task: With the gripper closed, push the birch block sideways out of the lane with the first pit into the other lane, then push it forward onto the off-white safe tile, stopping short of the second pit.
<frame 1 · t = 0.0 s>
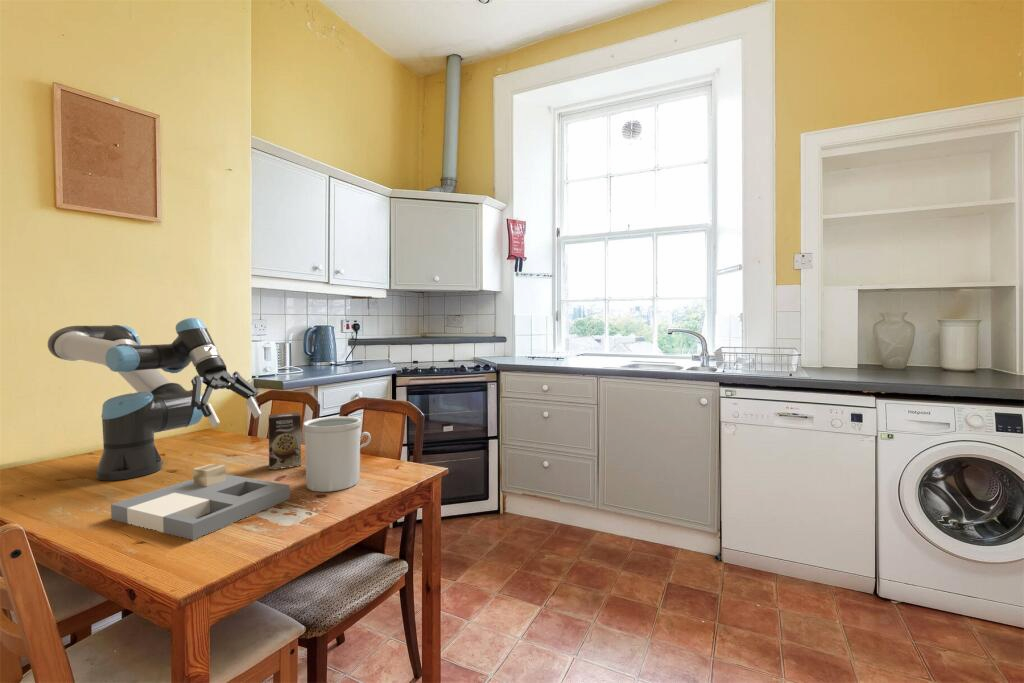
hand: (238, 420, 138), 15 cm above the table, tool tilted 35°, fingers open, 13 cm apart
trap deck: (205, 508, 109), on the table
coffee box: (285, 466, 143), on the table
birch block: (209, 482, 117), point 3 cm above the table, touching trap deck
teacup: (346, 464, 144), on the table
utensil holder: (333, 483, 127), on the table
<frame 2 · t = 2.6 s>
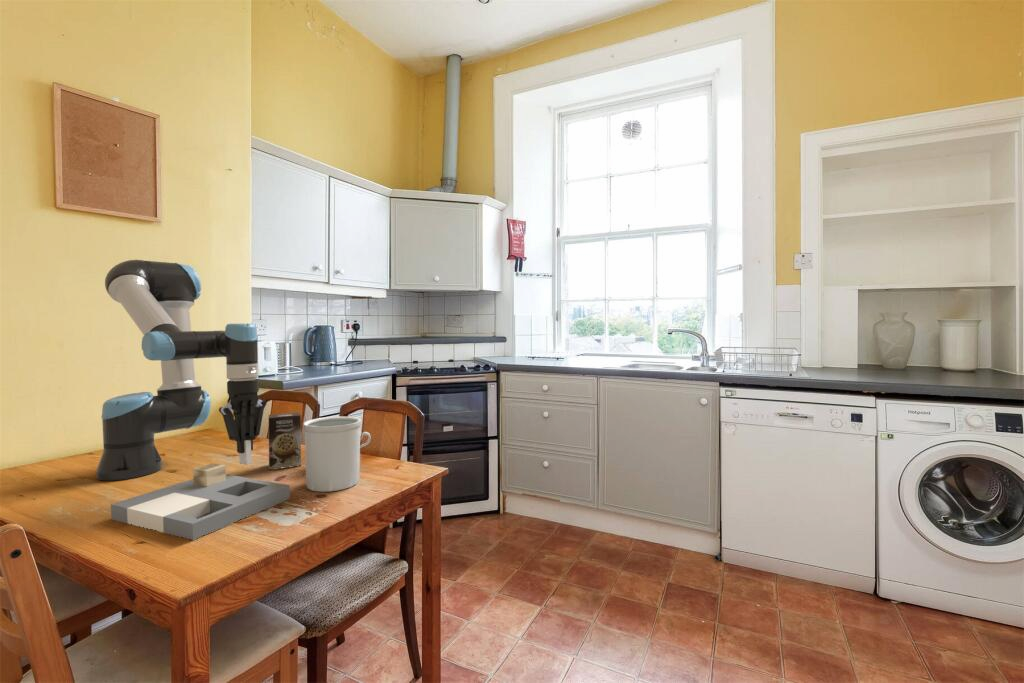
hand: (245, 463, 127), 6 cm above the table, tool pointing down, fingers closed
nothing on the table moved.
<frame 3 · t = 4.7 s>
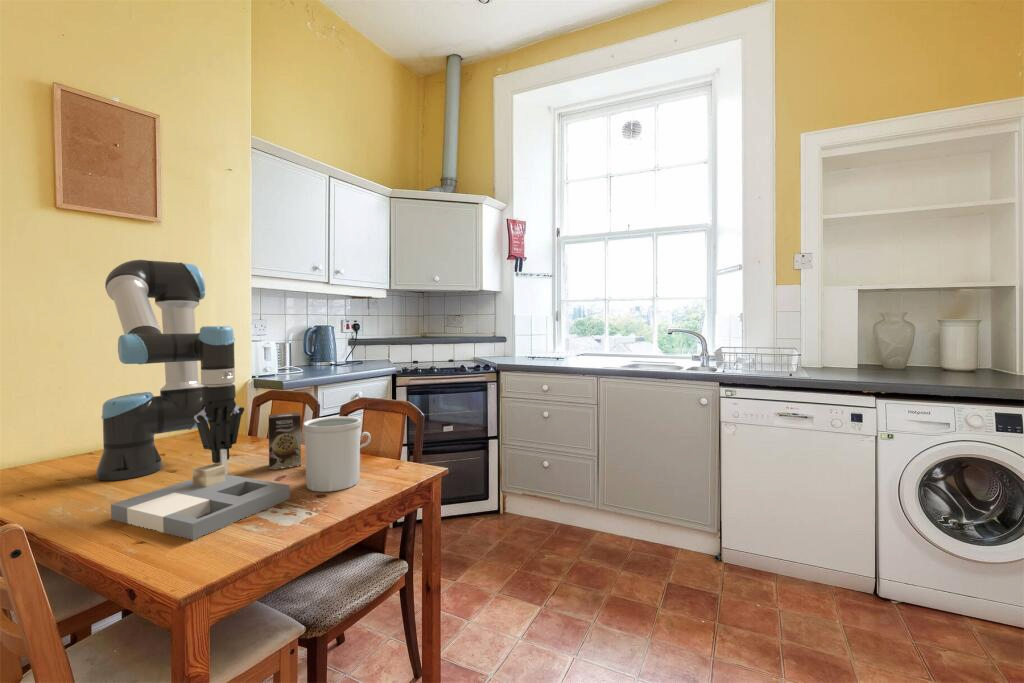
hand: (221, 473, 120), 5 cm above the table, tool pointing down, fingers closed
birch block: (209, 482, 117), point 4 cm above the table, touching gripper, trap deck
everything else where it was.
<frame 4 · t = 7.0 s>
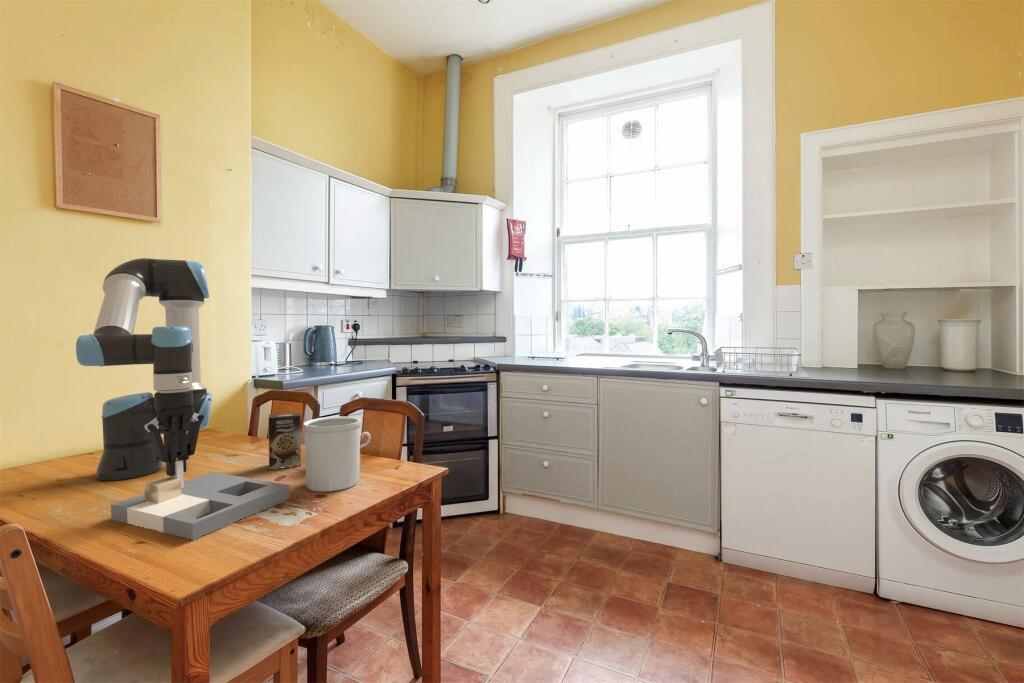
hand: (177, 487, 110), 5 cm above the table, tool pointing down, fingers closed
birch block: (163, 498, 107), point 3 cm above the table, touching gripper, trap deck
everything else where it was.
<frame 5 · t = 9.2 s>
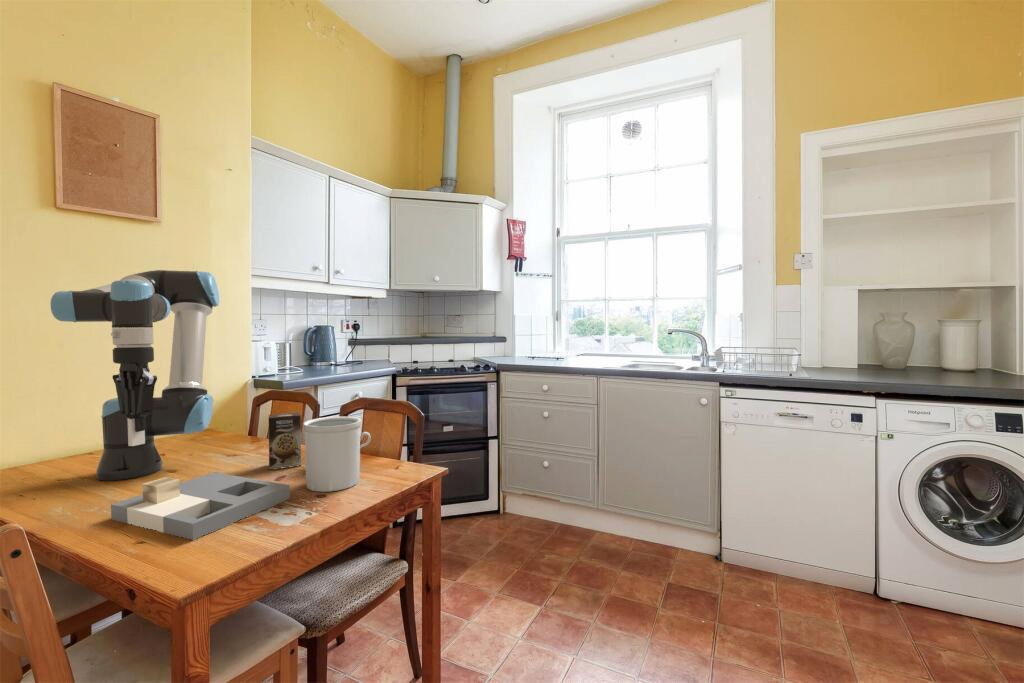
hand: (136, 444, 109), 16 cm above the table, tool pointing down, fingers closed
birch block: (161, 498, 107), point 3 cm above the table, touching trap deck
everything else where it was.
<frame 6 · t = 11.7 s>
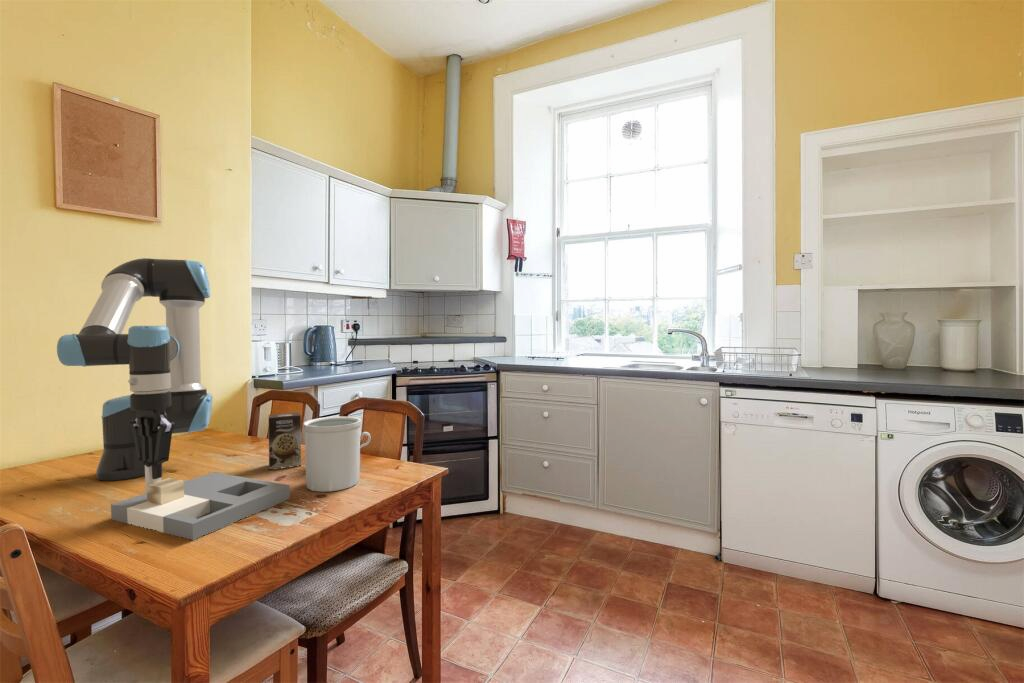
hand: (154, 491, 107), 5 cm above the table, tool pointing down, fingers closed
birch block: (166, 499, 106), point 4 cm above the table, touching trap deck
everything else where it was.
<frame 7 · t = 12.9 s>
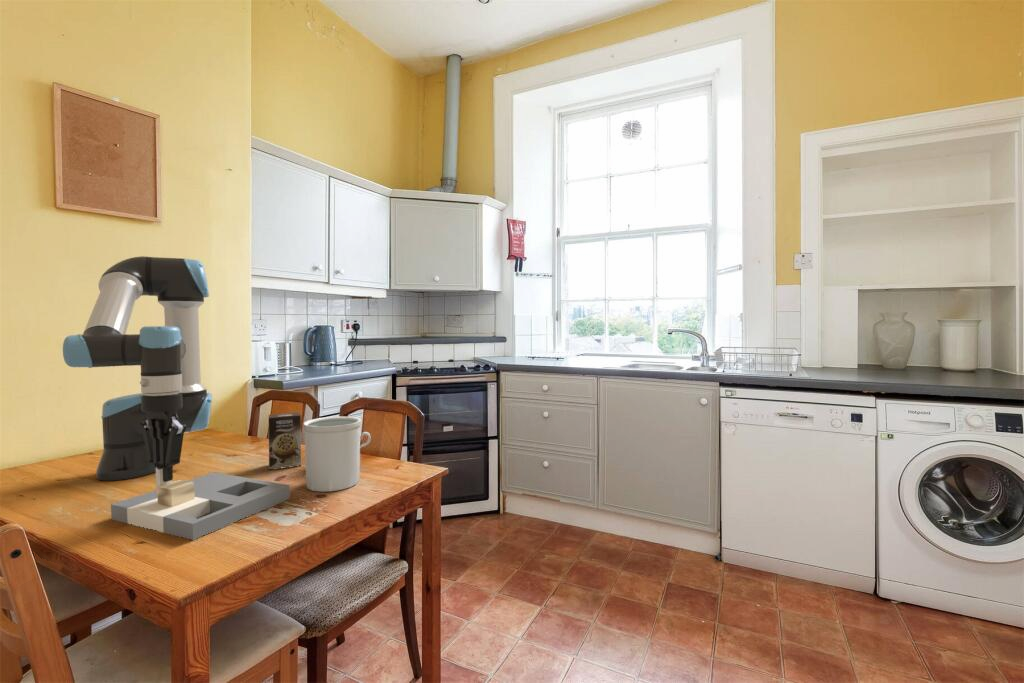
hand: (164, 494, 105), 5 cm above the table, tool pointing down, fingers closed
birch block: (176, 501, 105), point 3 cm above the table, touching gripper, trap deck
everything else where it was.
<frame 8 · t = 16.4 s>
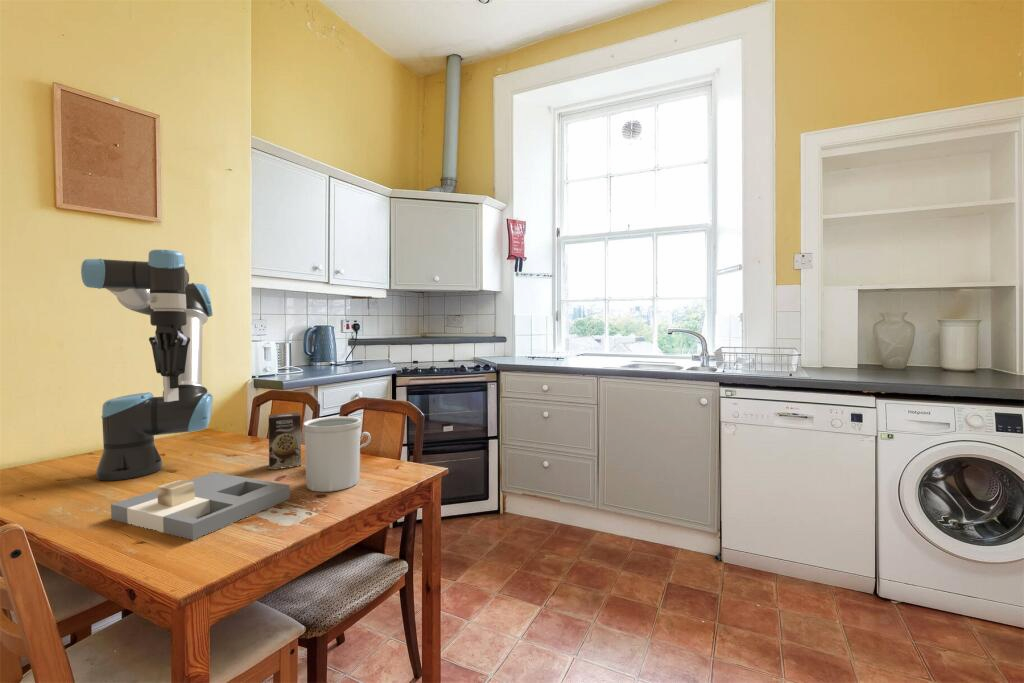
hand: (171, 400, 119), 24 cm above the table, tool pointing down, fingers closed
birch block: (176, 501, 105), point 3 cm above the table, touching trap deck
everything else where it was.
at the end: birch block inside the target area (0.8 cm from its centre), point 3.5 cm above the table; birch block tilted 0°; the gripper is holding nothing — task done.
